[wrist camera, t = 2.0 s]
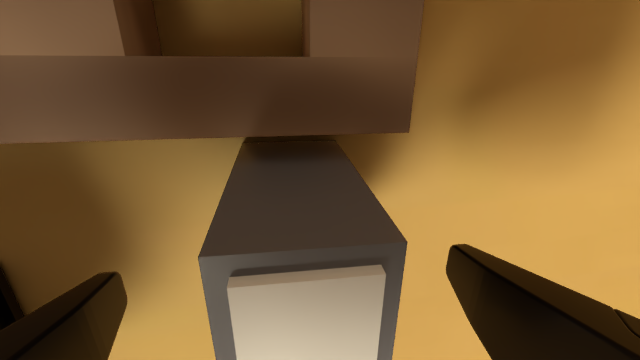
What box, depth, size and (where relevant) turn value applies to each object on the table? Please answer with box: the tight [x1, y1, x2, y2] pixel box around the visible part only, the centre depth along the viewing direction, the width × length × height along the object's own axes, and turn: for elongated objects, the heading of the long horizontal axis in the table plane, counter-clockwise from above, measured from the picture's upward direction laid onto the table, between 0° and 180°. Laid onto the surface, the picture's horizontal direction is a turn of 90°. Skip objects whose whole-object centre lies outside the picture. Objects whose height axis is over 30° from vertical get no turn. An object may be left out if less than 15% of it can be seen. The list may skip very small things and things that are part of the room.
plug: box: [198, 140, 407, 360], centre depth 10 cm, size 4×4×8 cm
